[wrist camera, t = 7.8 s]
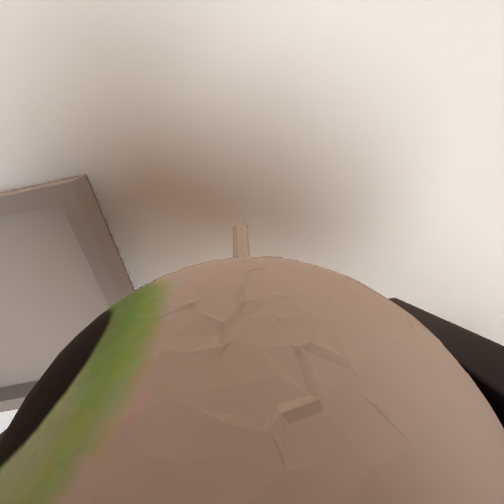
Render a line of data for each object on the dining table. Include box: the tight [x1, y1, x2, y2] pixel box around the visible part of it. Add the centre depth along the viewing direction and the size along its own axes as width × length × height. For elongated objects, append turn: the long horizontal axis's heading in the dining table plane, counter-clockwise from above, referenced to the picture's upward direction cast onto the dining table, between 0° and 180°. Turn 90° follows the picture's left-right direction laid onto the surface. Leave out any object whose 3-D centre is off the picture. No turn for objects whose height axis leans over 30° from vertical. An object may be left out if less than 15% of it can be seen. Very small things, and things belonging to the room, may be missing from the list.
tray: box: [0, 175, 134, 412], centre depth 21 cm, size 15×15×2 cm
